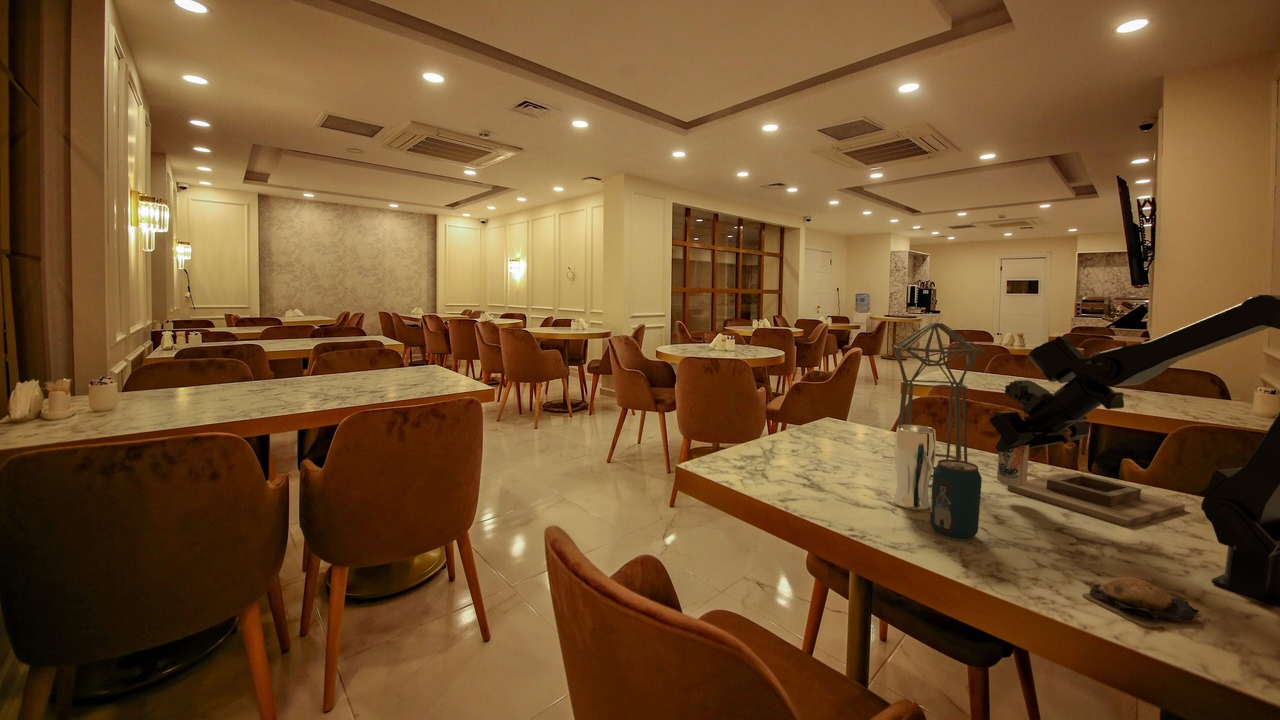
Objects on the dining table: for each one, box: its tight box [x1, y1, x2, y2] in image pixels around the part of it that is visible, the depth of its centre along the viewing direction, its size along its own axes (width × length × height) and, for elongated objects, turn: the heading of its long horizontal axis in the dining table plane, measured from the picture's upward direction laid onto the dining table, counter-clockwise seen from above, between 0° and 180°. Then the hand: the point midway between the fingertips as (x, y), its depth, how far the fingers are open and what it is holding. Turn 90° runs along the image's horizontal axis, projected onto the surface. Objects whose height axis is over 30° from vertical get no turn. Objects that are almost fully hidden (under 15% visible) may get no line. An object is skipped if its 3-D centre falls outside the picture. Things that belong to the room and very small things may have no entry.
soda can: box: [929, 458, 983, 542], centre depth 86 cm, size 7×7×12 cm
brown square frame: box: [1006, 472, 1186, 528], centre depth 103 cm, size 20×20×3 cm
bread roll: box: [1081, 576, 1201, 629], centre depth 66 cm, size 11×8×4 cm
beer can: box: [996, 435, 1030, 486], centre depth 101 cm, size 5×5×12 cm
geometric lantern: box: [892, 322, 985, 488], centre depth 112 cm, size 16×16×35 cm
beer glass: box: [893, 424, 937, 511], centre depth 99 cm, size 7×7×15 cm
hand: (1006, 448), depth 102 cm, fingers closed on beer can, 5 cm apart
